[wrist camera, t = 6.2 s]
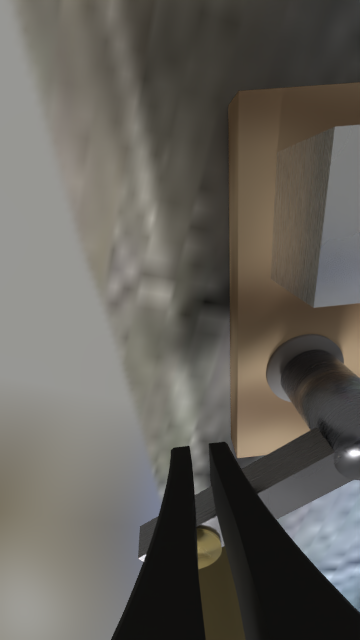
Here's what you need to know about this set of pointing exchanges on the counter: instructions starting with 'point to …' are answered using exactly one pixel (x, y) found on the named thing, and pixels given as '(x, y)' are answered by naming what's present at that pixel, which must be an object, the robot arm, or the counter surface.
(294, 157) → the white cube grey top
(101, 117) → the counter surface
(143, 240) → the counter surface
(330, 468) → the lever
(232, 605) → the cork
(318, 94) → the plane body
